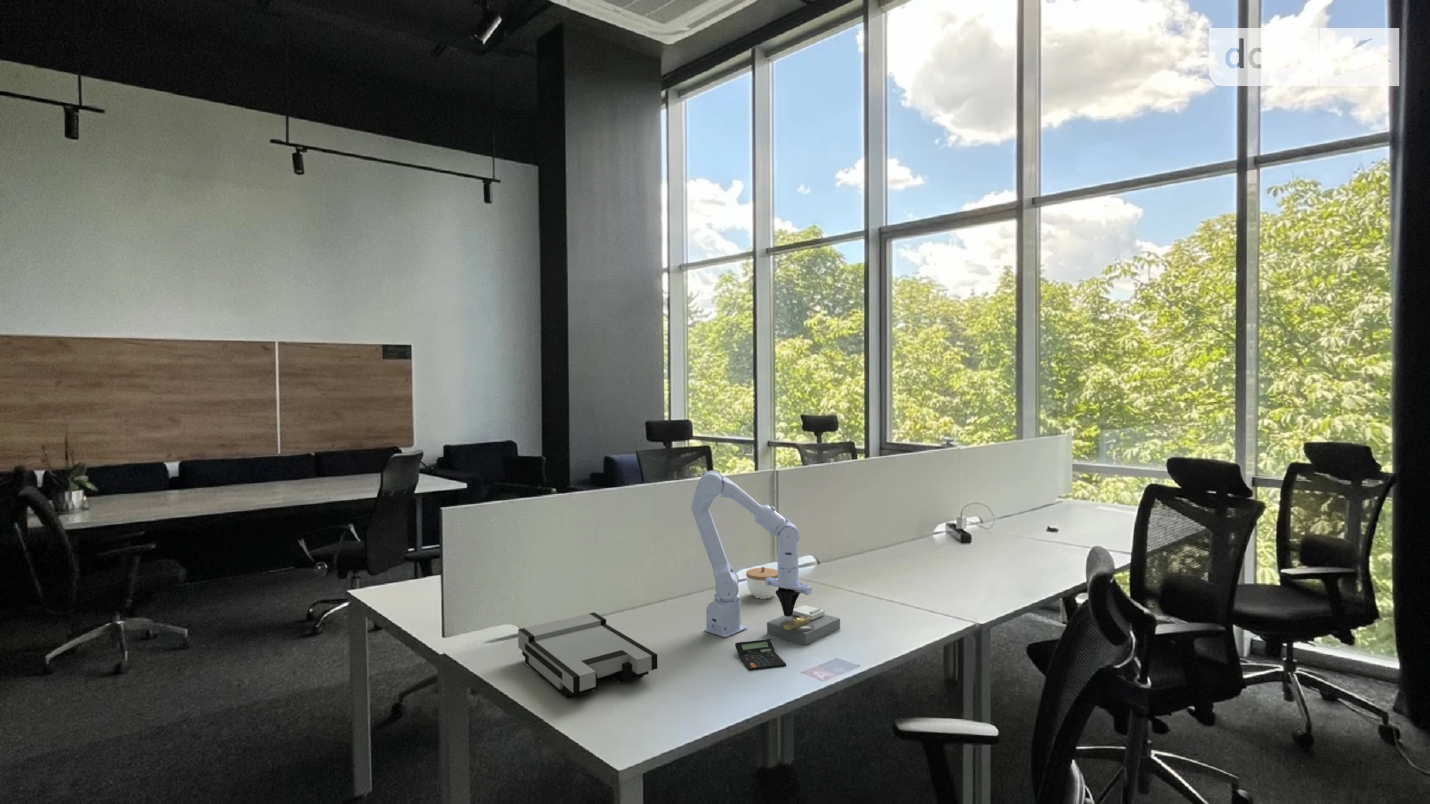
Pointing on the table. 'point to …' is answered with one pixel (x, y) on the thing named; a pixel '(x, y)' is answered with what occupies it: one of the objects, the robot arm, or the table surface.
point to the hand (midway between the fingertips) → (788, 615)
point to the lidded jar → (761, 582)
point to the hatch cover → (808, 612)
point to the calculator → (759, 655)
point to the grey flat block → (804, 628)
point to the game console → (583, 653)
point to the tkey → (796, 623)
